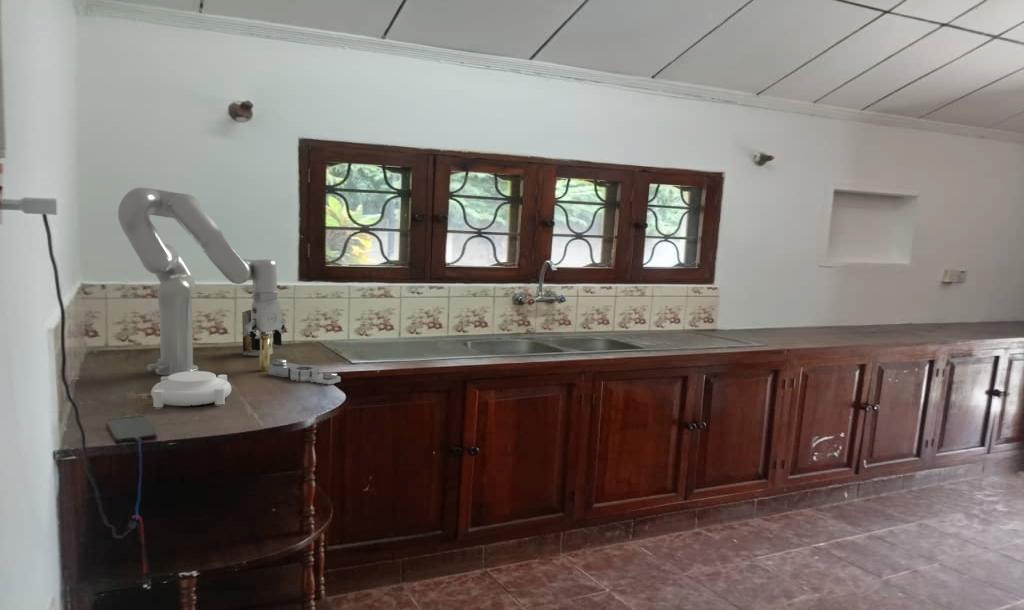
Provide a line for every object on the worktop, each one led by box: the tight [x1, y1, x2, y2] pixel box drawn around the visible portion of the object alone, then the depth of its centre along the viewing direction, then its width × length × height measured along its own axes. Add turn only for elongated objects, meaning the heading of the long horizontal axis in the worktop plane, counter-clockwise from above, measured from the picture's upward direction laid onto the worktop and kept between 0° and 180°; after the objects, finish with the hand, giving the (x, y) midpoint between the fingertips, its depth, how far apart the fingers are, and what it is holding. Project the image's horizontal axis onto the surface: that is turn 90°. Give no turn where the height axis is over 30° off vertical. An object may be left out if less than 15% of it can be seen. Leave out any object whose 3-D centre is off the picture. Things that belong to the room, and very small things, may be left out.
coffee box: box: [241, 309, 274, 357], centre depth 260 cm, size 9×6×16 cm
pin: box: [258, 334, 271, 372], centre depth 237 cm, size 4×4×12 cm
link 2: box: [289, 371, 341, 385], centre depth 227 cm, size 9×17×3 cm, turn 65°
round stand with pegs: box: [150, 370, 232, 407], centre depth 199 cm, size 24×24×7 cm
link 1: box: [268, 358, 320, 378], centre depth 231 cm, size 9×17×4 cm, turn 65°
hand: (266, 347), depth 237 cm, fingers open, 9 cm apart
